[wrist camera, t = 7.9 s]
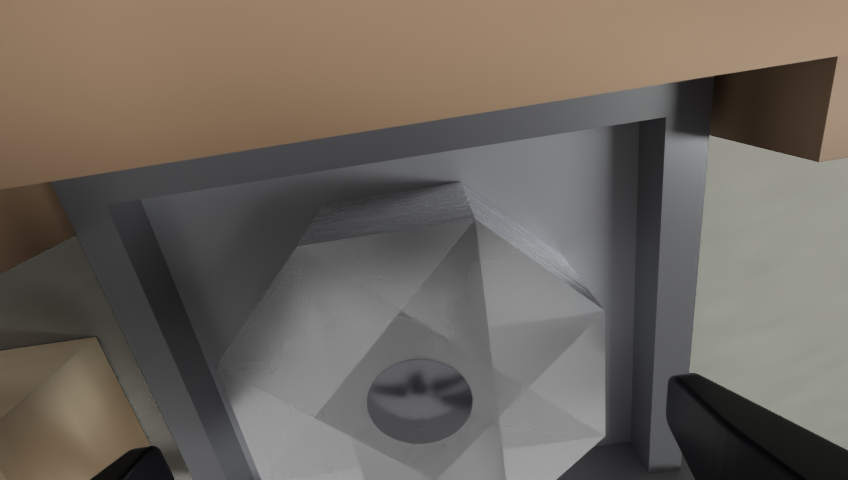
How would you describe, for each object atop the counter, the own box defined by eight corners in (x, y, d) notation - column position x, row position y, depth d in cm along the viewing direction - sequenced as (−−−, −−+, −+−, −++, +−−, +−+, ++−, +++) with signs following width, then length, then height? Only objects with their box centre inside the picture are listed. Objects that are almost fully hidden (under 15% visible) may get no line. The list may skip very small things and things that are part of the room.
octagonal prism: (569, 423, 12) (606, 508, 10) (311, 457, 12) (288, 549, 10) (558, 165, 9) (604, 199, 7) (230, 217, 10) (174, 265, 7)
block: (150, 444, 14) (66, 565, 11) (27, 460, 14) (-94, 585, 11) (95, 336, 12) (-22, 438, 9) (-41, 356, 13) (-206, 463, 9)
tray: (658, 429, 14) (744, 557, 10) (236, 484, 14) (177, 626, 11) (679, 57, 10) (833, 55, 6) (94, 152, 10) (-77, 200, 7)
